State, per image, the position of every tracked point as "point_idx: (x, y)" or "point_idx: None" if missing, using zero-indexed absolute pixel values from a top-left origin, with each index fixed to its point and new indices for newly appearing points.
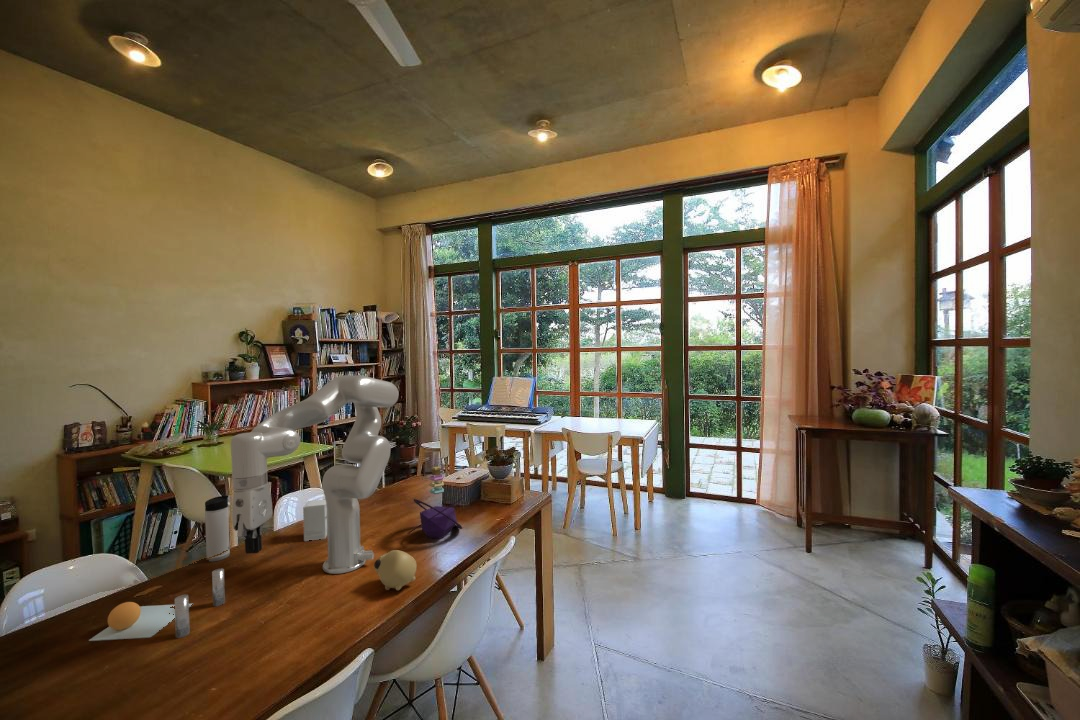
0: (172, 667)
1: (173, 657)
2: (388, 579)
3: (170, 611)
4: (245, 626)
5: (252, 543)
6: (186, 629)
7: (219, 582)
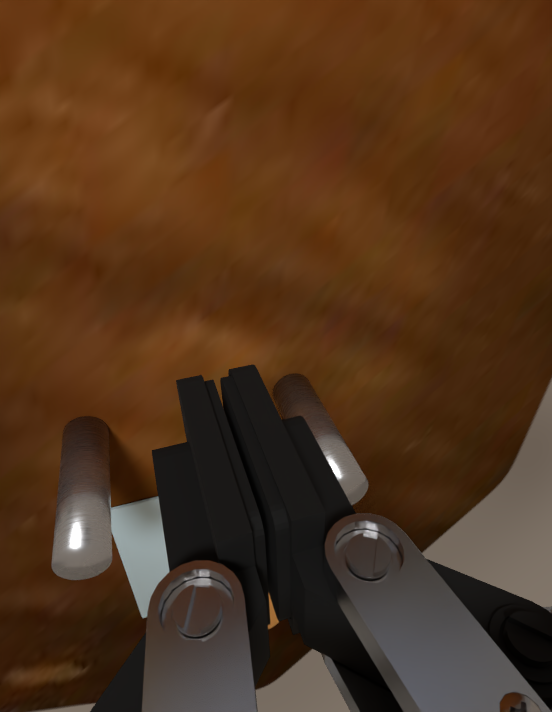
0: (462, 276)
1: (411, 315)
2: None
3: (162, 529)
4: (252, 186)
5: (335, 481)
6: (304, 386)
7: (98, 498)
